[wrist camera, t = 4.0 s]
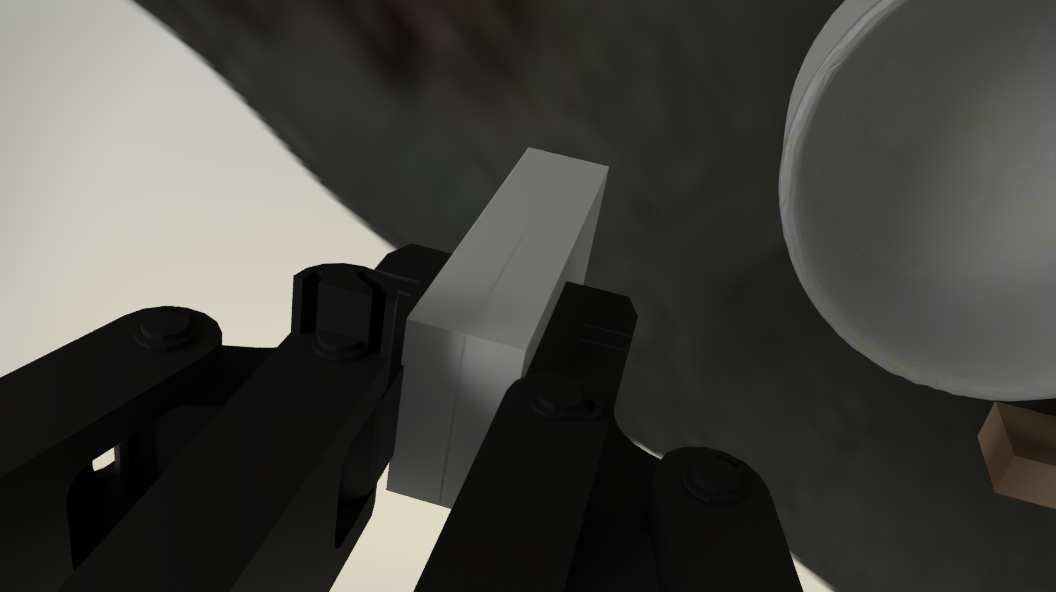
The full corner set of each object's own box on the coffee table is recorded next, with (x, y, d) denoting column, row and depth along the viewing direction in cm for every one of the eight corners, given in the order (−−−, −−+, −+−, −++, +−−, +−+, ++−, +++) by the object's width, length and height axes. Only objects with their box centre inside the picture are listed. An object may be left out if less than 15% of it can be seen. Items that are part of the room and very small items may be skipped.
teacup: (704, 120, 29) (682, 222, 23) (982, -206, 24) (1063, -203, 17) (1041, 380, 31) (1117, 550, 24) (1374, 128, 25) (1595, 254, 19)
